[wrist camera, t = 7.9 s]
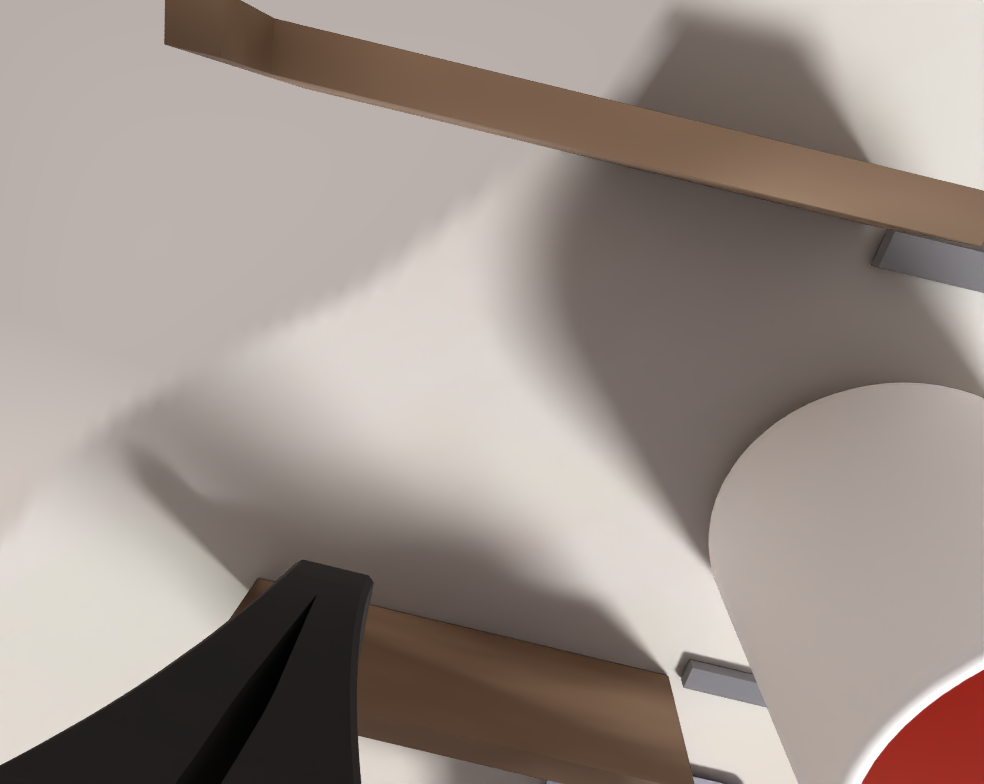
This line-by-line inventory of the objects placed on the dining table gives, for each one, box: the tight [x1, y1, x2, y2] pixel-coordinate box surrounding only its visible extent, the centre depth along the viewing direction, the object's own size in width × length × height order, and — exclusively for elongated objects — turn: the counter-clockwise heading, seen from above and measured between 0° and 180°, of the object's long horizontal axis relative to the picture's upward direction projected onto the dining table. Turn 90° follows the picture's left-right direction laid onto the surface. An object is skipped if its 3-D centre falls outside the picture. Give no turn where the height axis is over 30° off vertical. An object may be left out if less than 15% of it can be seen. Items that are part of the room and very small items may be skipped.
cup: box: [709, 382, 984, 784], centre depth 15 cm, size 10×10×10 cm
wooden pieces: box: [164, 0, 984, 784], centre depth 16 cm, size 19×16×6 cm
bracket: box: [681, 229, 984, 707], centre depth 19 cm, size 17×10×1 cm, turn 167°
